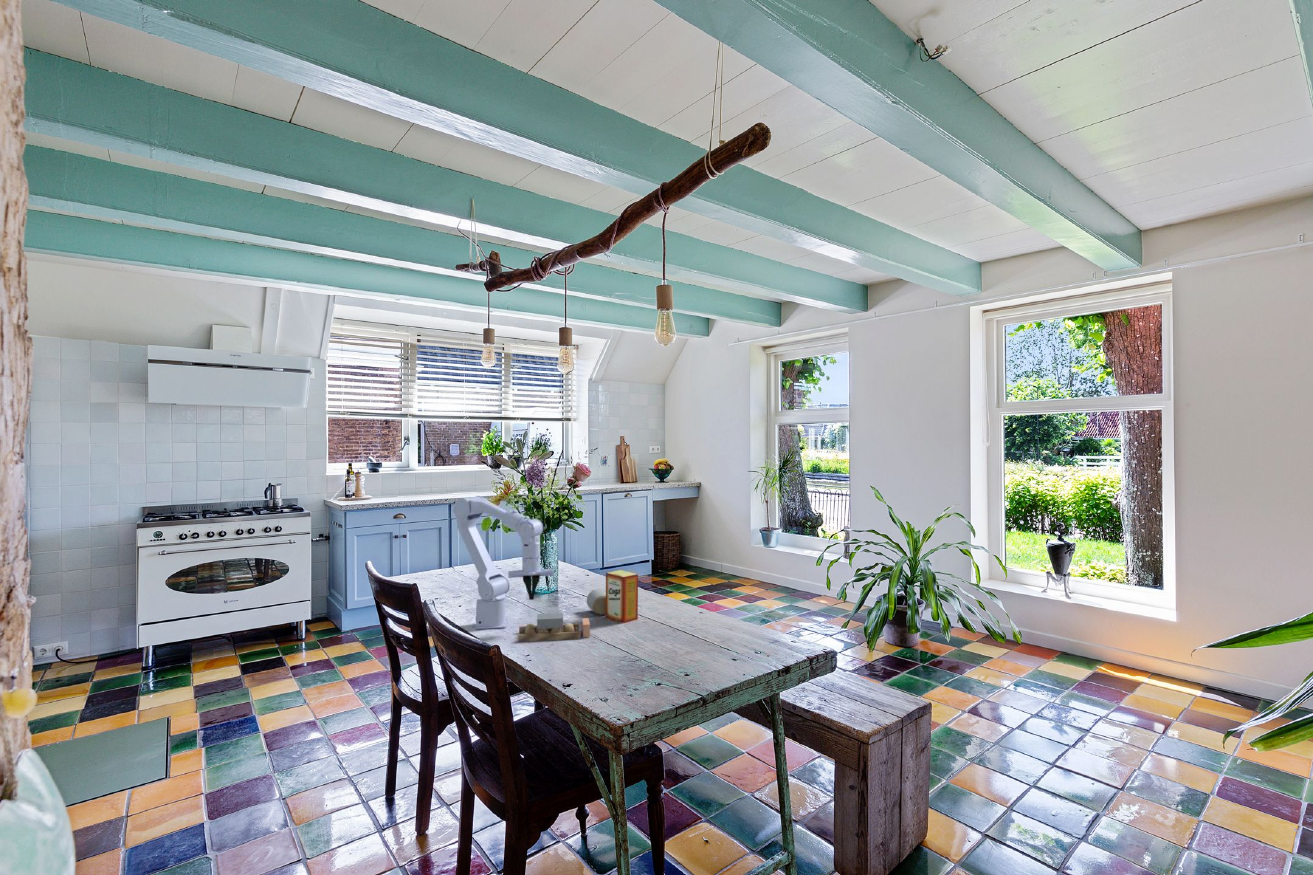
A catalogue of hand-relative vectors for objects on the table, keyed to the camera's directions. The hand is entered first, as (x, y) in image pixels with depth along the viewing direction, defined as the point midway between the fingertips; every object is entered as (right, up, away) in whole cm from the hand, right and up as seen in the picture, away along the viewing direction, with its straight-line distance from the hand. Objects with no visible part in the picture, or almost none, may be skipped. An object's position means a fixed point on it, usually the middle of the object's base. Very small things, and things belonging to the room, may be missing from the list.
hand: (531, 598), depth 205 cm
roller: (+13, -11, -3) cm, 17 cm away
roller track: (+7, -11, -5) cm, 13 cm away
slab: (+7, -7, -4) cm, 11 cm away
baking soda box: (+28, -11, +15) cm, 34 cm away
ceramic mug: (+21, -11, +22) cm, 32 cm away
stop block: (+18, -11, -2) cm, 21 cm away
